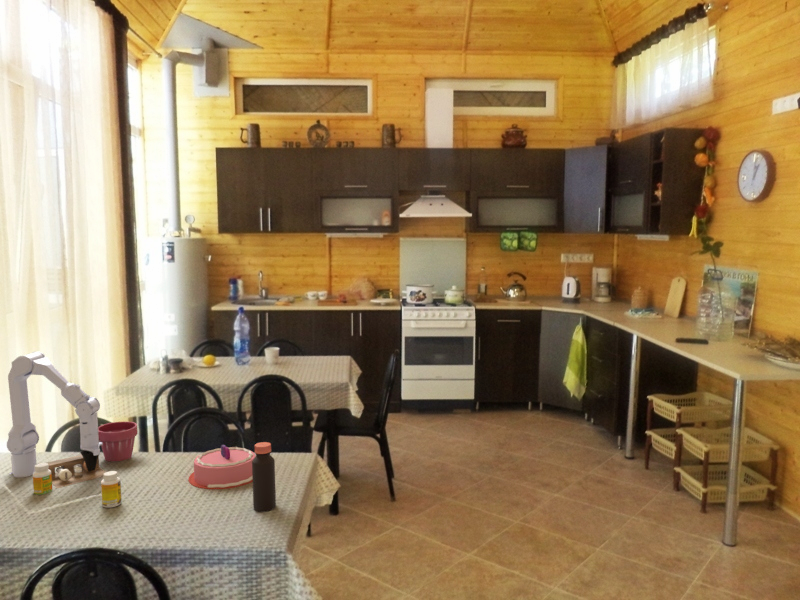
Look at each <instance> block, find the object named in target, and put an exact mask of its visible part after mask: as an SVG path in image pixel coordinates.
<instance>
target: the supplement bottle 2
mask: <svg viewBox="0 0 800 600" xmlns="http://www.w3.org/2000/svg"><path fill="white" fill-rule="evenodd" d="M105 472H106V473H104V474H103V477H102V480H101V481H100V491H101V504H102V505H101V506H103V507H104V508H106V509H107V508H109V509H111V508H115V507H118V506H120V505H121V503H122V487H121V478H120V476H118V471H116V470H110V471H105Z"/></svg>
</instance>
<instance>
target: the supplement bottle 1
mask: <svg viewBox="0 0 800 600" xmlns="http://www.w3.org/2000/svg"><path fill="white" fill-rule="evenodd" d="M48 468H49V466H48V463H47V462H41V463H37V465H35V472H34V473H33V475H32V486H33V487H32V488H33V494H34V495H46V494H49V493H51V492H52V491H53V484H52V474H51V470H49V469H48Z"/></svg>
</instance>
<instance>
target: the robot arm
mask: <svg viewBox="0 0 800 600" xmlns="http://www.w3.org/2000/svg"><path fill="white" fill-rule="evenodd" d="M31 376H43V377H45V378H46V379H47V380H48V381H50V383H52V384H53V385H54V386H56V387H57V388H58V389H59V390H60V392H61V393H60V395H61V397H63V398H64V399H65V400H66V401H67V402H68V403H69V404H70V405H72V406H73V407H74V409H75V410H74V411H75V415H77V416H78V421H79V433H80V434H79V435H80V438H79V439H80V450H81V451H80V455H82V456H83V458H84V460H85V463H86V467H87V470H88V471H93V470H95V468H96V463H97V459H98V456H99V457H100V455H101V449H100V446H101V445H103V443H102V442H100V440H99V436H98V427H99V421H98V412H99V410H100V408H101V403H100V401H99V400H98V398H97V397H94V396H90V395H89V394H88V393H86V392H85V391H84V390H83V389H82V388H81V385H80V384H76V383H75V382H69V381H68V379H66V377H65V376H63V375H62V373H60V372H59V370H58V369H56V367H55V366H54V365H53V364H52V362H51V360H50V358H48V357H47V356H46V355H45V354H44V353H43V352H41V351H38V350H37V351H33V352H31V353H28V354H24V355H19V356H18V357H16V358H15V359H14V360H13V361H11V368H10V369H9V373H8V375H7V379H8V381H7V382H8V392H9V399H10V411H11V412H10V413H11V419H12V427H10V430H9V431H8V434H7V435H8V438H7V441H6V448H7V450H8V451H9V452H10V454H11V456H10V459H11V460H10V461H11V472H9V473H8V475H13V477H14V478H25V477H29V476H33V473H34V472H35V465H37V464H38V463H37V450H36V449H37V444H38V443H39V440H40V436H39V433H38V432H37V429H36V425H35V424H33V423H32V421H31V420H32V419H31V412H30V411H31V410H30V402H29V401H30V400H29V390H28V379H29V378H30V377H31Z"/></svg>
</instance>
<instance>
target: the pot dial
mask: <svg viewBox="0 0 800 600" xmlns="http://www.w3.org/2000/svg"><path fill="white" fill-rule="evenodd" d="M82 476H83V473H82V465H81V464H78V465H74V478H81V477H82Z"/></svg>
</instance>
